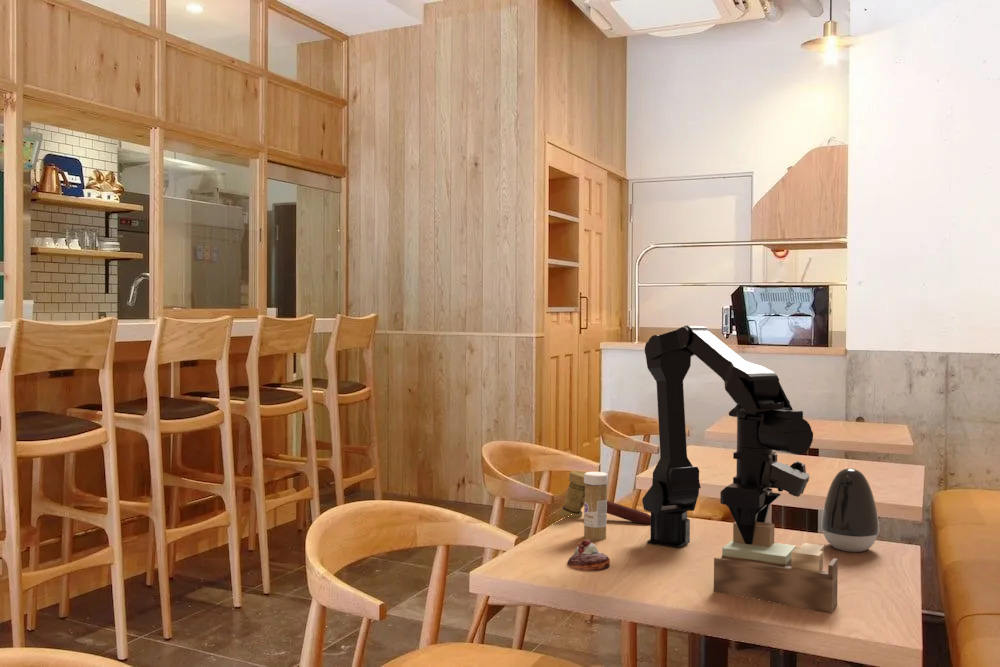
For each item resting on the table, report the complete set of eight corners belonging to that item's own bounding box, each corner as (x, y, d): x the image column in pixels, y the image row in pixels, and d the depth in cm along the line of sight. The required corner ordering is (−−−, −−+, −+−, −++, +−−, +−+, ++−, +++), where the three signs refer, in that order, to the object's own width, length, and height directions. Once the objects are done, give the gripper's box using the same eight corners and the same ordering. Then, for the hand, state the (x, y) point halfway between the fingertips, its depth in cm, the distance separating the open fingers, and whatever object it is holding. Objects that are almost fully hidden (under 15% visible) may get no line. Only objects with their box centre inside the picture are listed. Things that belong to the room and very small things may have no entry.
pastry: (578, 561, 157) (579, 533, 157) (617, 567, 154) (618, 539, 154) (558, 572, 151) (558, 543, 150) (599, 579, 147) (599, 549, 147)
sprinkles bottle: (578, 541, 171) (579, 472, 171) (596, 538, 173) (597, 470, 173) (593, 546, 167) (594, 475, 167) (612, 543, 169) (612, 473, 169)
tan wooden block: (791, 570, 133) (791, 552, 133) (800, 560, 139) (800, 542, 139) (818, 574, 131) (819, 555, 131) (827, 563, 137) (827, 545, 137)
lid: (722, 555, 143) (722, 528, 142) (735, 544, 149) (735, 518, 149) (785, 564, 138) (785, 536, 137) (796, 552, 144) (796, 526, 144)
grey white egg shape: (817, 551, 164) (818, 470, 164) (824, 539, 174) (825, 462, 173) (876, 558, 160) (877, 475, 159) (881, 545, 169) (882, 466, 169)
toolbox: (713, 593, 139) (714, 549, 139) (735, 573, 149) (735, 532, 149) (832, 612, 130) (832, 565, 130) (845, 590, 141) (846, 547, 140)
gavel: (656, 544, 184) (668, 499, 183) (652, 550, 180) (665, 503, 179) (562, 513, 191) (573, 469, 190) (556, 517, 186) (568, 472, 185)
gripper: (792, 457, 134) (791, 560, 134) (816, 443, 150) (815, 534, 150) (719, 451, 139) (718, 550, 140) (750, 438, 155) (749, 526, 156)
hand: (753, 540), depth 146 cm, fingers open, 6 cm apart
